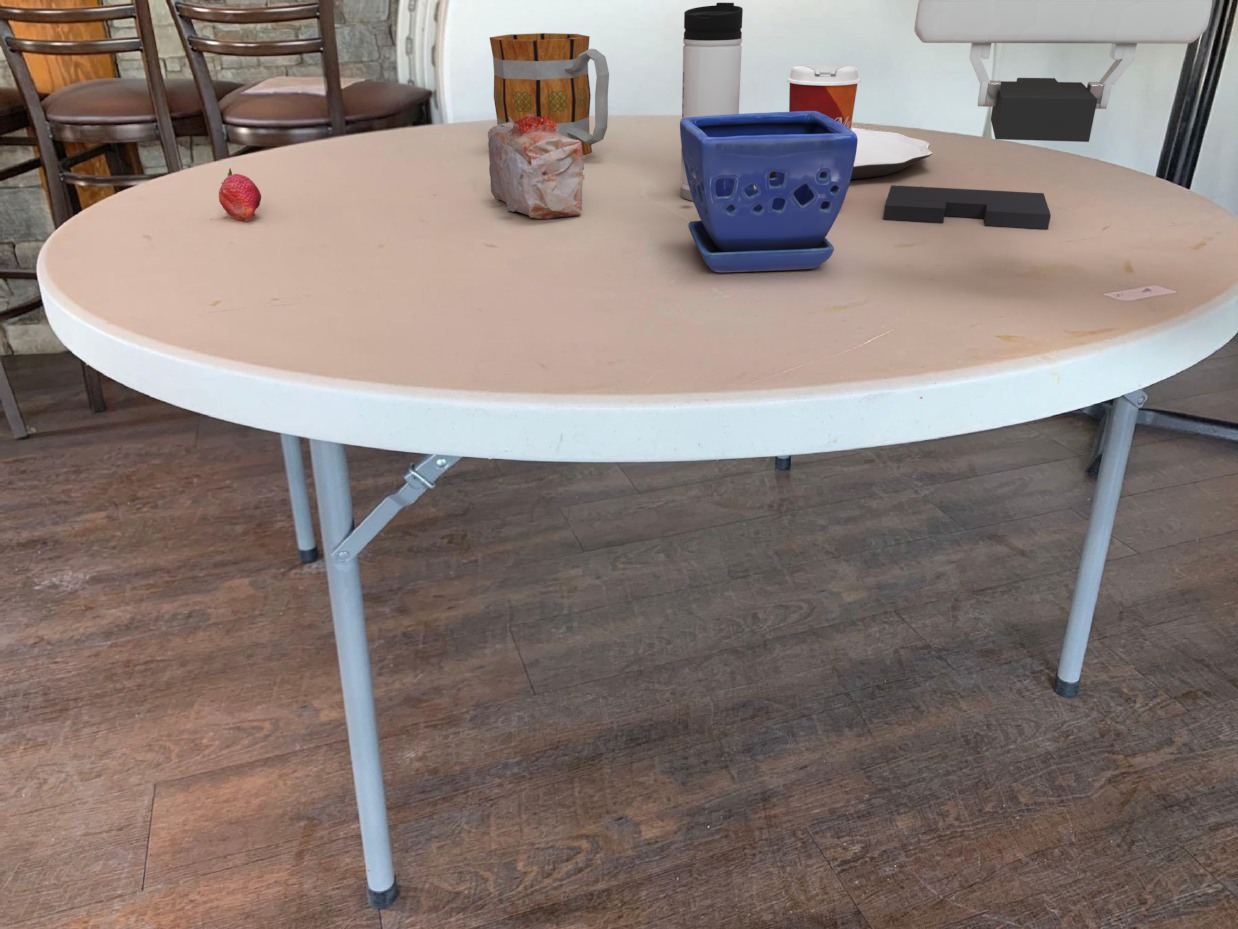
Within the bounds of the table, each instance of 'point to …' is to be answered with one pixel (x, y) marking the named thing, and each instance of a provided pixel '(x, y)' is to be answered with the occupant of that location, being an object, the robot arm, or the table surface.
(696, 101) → the travel mug
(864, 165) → the plate
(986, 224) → the charcoal pad
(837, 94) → the paper cup
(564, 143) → the wrapped gift box
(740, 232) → the flower pot
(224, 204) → the fruit
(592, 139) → the mug
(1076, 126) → the black block
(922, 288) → the table surface
